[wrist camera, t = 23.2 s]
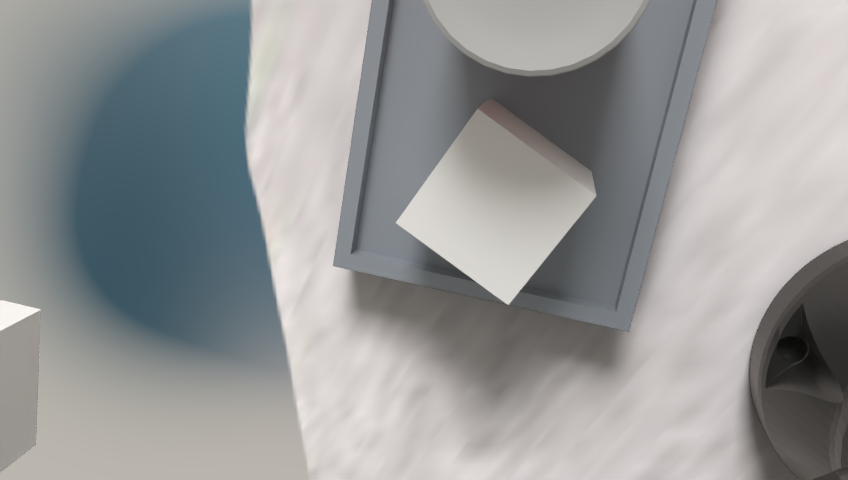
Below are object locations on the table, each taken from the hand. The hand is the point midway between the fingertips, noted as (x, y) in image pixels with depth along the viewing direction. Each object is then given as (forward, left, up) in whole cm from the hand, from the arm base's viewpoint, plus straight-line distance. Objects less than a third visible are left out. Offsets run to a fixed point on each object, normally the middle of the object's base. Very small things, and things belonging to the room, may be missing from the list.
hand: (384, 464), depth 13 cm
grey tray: (+4, -3, -29) cm, 29 cm away
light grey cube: (0, 0, -26) cm, 26 cm away
